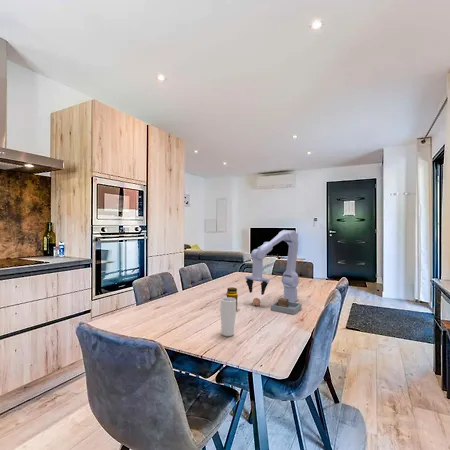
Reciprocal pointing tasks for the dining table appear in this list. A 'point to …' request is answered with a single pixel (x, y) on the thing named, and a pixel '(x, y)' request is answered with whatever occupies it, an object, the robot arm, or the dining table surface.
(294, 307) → the tray
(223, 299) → the drinking glass
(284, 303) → the cube
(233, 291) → the condiment
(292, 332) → the dining table surface
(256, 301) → the ball
